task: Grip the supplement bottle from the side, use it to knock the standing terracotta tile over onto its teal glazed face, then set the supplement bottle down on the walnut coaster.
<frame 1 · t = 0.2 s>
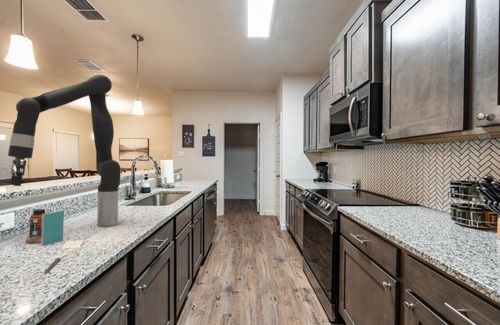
hand: (15, 185, 107), 22 cm above the worktop, tool pointing down, fingers open, 8 cm apart
coaster: (40, 240, 107), on the worktop
tile: (52, 242, 104), on the worktop
spatula: (62, 258, 90), on the worktop
supplement bottle: (38, 236, 113), on the worktop
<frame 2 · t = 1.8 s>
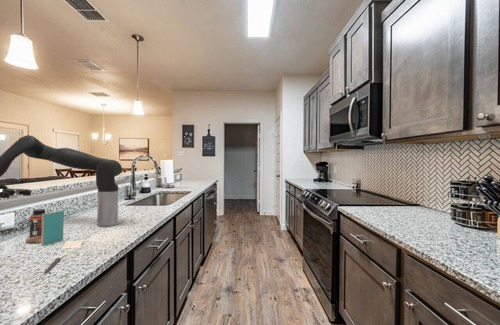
hand: (19, 194, 115), 17 cm above the worktop, tool horizontal, fingers open, 8 cm apart
nothing on the worktop moved.
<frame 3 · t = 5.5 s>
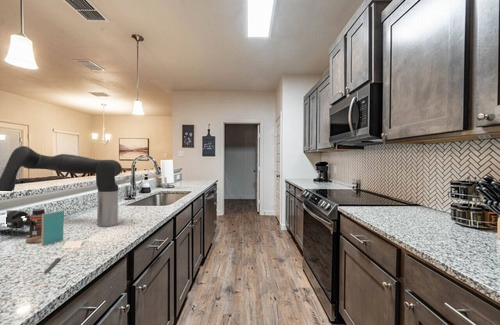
hand: (42, 221, 112), 6 cm above the worktop, tool horizontal, fingers closed on supplement bottle, 6 cm apart
supplement bottle: (38, 235, 113), on the worktop, touching gripper
everything else where it was.
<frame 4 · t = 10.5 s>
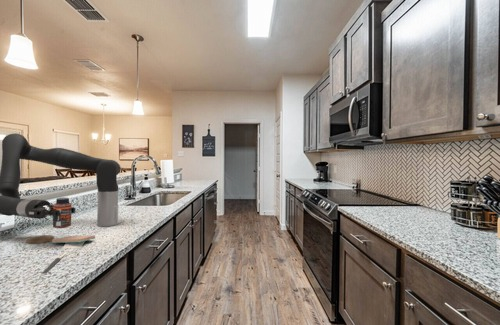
hand: (66, 211, 103), 13 cm above the worktop, tool horizontal, fingers closed on supplement bottle, 6 cm apart
tile: (60, 239, 105), point 1 cm above the worktop, tilted 86°, touching spatula
spatula: (62, 257, 90), on the worktop, touching tile
supplement bottle: (62, 227, 103), point 6 cm above the worktop, touching gripper
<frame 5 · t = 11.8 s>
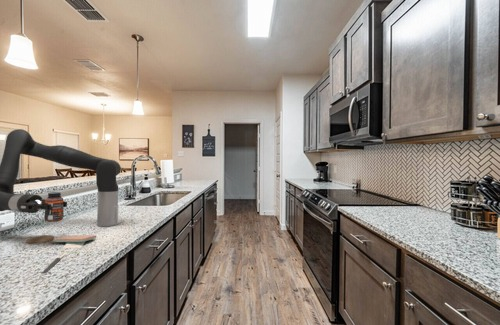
hand: (58, 205, 104), 15 cm above the worktop, tool horizontal, fingers closed on supplement bottle, 6 cm apart
tile: (61, 238, 106), point 1 cm above the worktop, tilted 87°
spatula: (62, 257, 90), on the worktop
supplement bottle: (54, 221, 105), point 8 cm above the worktop, touching gripper
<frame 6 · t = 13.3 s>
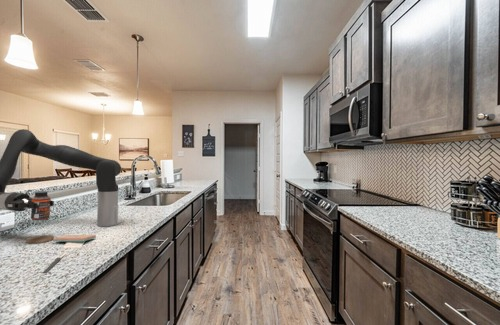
hand: (45, 204, 106), 15 cm above the worktop, tool horizontal, fingers closed on supplement bottle, 6 cm apart
tile: (60, 238, 107), point 1 cm above the worktop, tilted 88°, touching spatula
spatula: (63, 257, 91), on the worktop, touching tile
supplement bottle: (40, 219, 107), point 8 cm above the worktop, touching gripper
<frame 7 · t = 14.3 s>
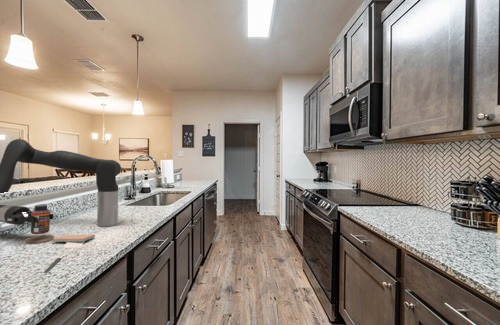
hand: (44, 218, 106), 9 cm above the worktop, tool horizontal, fingers closed on supplement bottle, 6 cm apart
supplement bottle: (40, 233, 107), point 3 cm above the worktop, touching gripper
when the fingers open (8 cm above the worktop, at t = 15.2 s): supplement bottle drops 1 cm, resting on coaster.
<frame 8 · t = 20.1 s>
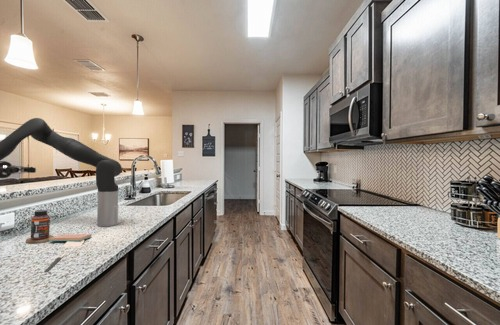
hand: (24, 170, 112), 28 cm above the worktop, tool horizontal, fingers open, 8 cm apart
tile: (55, 237, 107), point 1 cm above the worktop, tilted 89°
spatula: (63, 257, 91), on the worktop
supplement bottle: (40, 238, 107), point 1 cm above the worktop, touching coaster
at the end: tile tilted 88°; supplement bottle 0.0 cm off-centre on the coaster, point 0.6 cm above the coaster's base; supplement bottle tilted 0° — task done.
